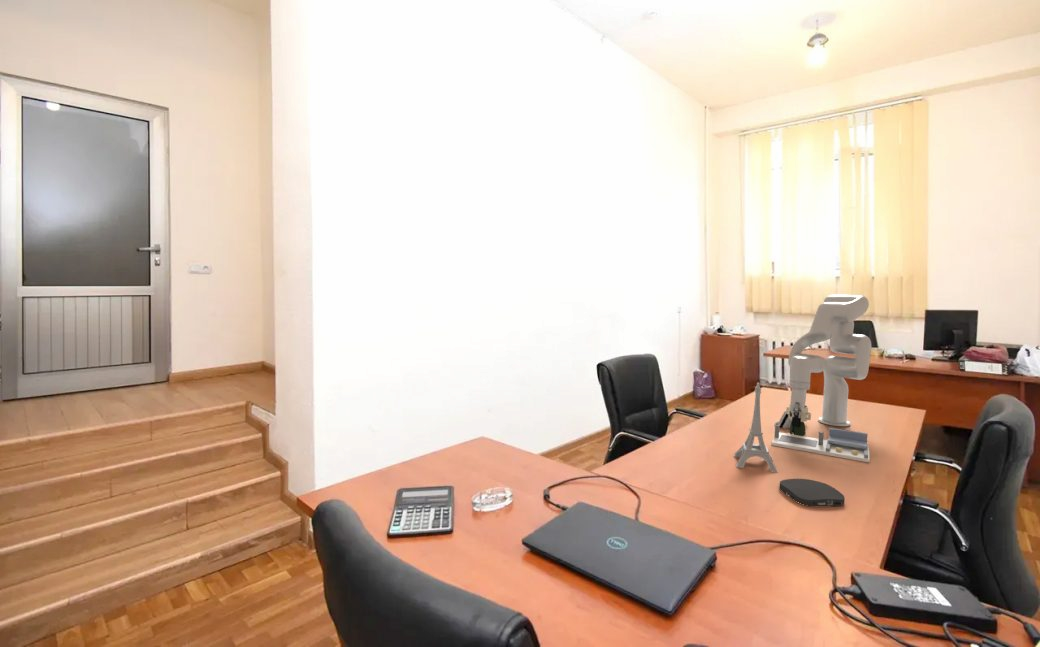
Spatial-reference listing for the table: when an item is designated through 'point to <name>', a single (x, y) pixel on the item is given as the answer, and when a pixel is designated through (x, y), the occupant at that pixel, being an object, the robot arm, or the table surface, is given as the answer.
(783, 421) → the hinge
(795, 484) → the media streaming box
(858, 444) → the cover
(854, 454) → the board
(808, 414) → the character mug
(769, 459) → the eiffel tower
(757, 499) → the table surface
